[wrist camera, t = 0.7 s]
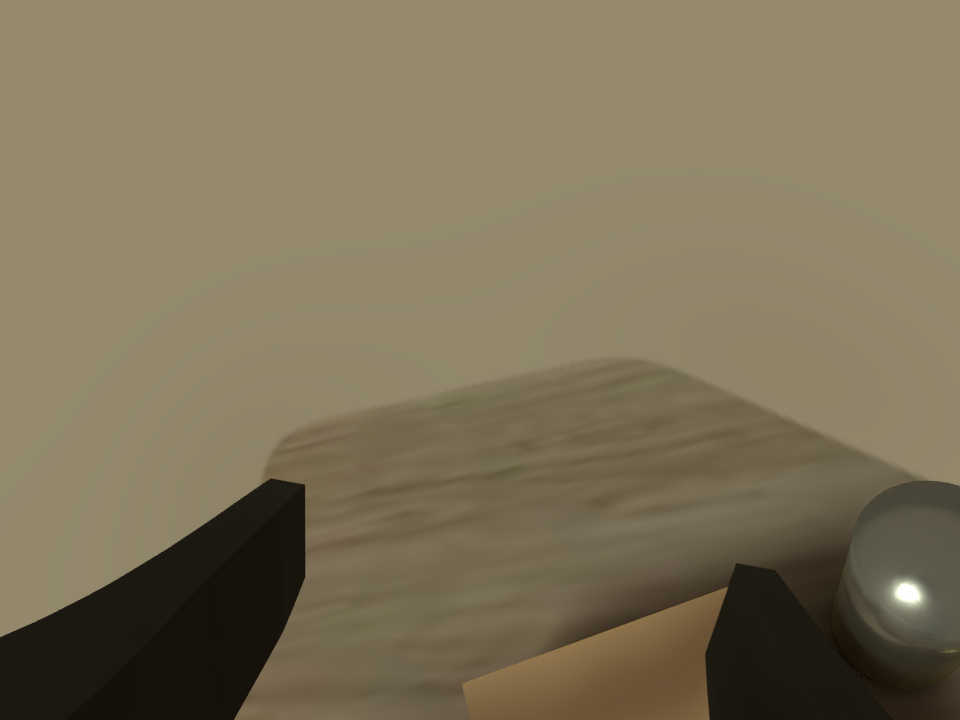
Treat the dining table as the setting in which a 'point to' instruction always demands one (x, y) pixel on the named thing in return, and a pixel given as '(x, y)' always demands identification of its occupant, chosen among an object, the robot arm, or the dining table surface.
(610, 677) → the hole plate
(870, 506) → the long pin
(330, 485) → the dining table surface
